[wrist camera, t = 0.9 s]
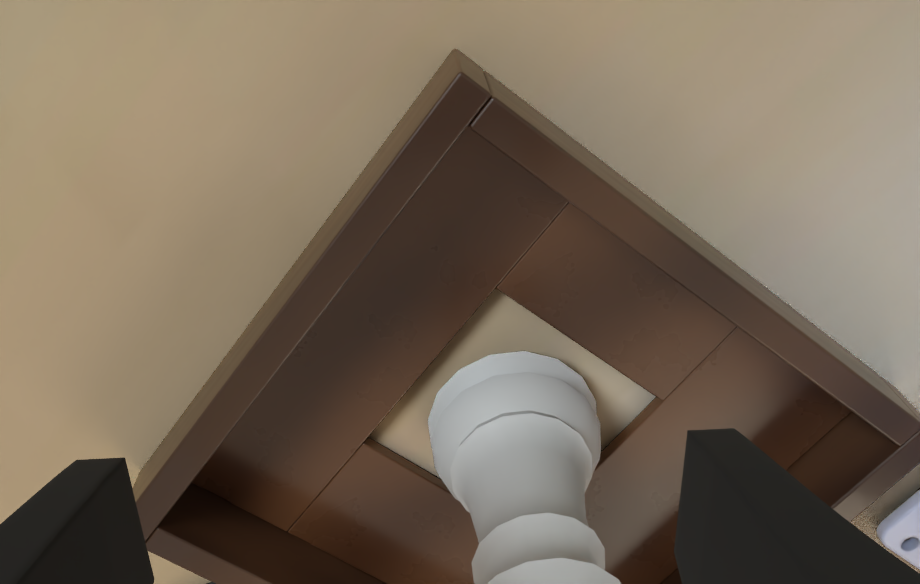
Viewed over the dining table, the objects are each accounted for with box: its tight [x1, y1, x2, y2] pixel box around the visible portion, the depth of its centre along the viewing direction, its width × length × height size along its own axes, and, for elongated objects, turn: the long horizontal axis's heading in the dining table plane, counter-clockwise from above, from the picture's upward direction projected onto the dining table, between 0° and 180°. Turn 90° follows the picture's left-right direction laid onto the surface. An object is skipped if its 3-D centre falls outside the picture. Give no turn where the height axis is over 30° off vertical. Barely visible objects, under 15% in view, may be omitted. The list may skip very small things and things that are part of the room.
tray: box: [132, 49, 920, 584], centre depth 22 cm, size 15×14×2 cm
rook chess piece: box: [428, 351, 621, 584], centre depth 19 cm, size 4×4×8 cm
